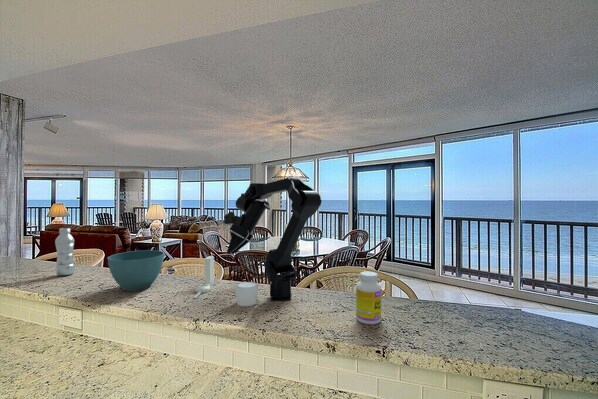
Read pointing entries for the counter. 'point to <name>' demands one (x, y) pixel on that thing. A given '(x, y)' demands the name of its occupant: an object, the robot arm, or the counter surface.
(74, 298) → the counter surface
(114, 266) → the teal bowl
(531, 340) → the counter surface
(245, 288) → the white cup
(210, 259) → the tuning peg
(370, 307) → the supplement bottle
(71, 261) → the plastic bottle
